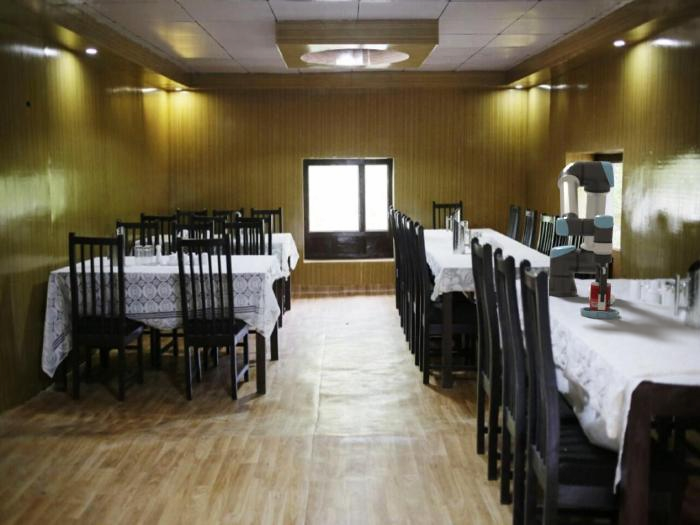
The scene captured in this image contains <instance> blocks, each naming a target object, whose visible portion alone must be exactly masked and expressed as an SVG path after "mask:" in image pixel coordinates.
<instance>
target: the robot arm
mask: <svg viewBox="0 0 700 525" xmlns="http://www.w3.org/2000/svg"><path fill="white" fill-rule="evenodd" d="M613 166H614V165H613V164H612V162H610V161H602V160H599V161H593V160H592V161H584V160H583V161H582V160H579V161H573V162H572V163H571V162H570V163H569V164H568V165H566V166H565V167H564V168H563V169H562V170H561V171H560V172H559V175H558V178H557V187H558V189H559V193H560V194H559V198H560V199H559V200H560V202H559V203H560V204H559V205H560V217H557V218H556V220H555V233H556V235H558V236H564V237H583V238H584V239H583V242H582V243H581V244H580V248H577V247H576V245H561V246H554V247H552V248H551V249H550V253H549V274H548V275H549V276H548V280H549V294H550V295H549V296H553V297H574V296H575V295H576V296H578V288H577V283H576V281H575V280H576V279H575V274H592V275H595V280H594V282H599V292H598V293H597V294H599V295H598V310H605V299H606V293H607V283H608V264H611V263H612V260H613V259H612V258H613V255H612V253H613V237H614V236H613V235H614V225H615V223H614V216H612V215H609V214H608V215H607V214H606V209H607V207H606V205H607V195H608V194H609V193H610V192H611V189H612V188H614V187H615V176H614V175H615V172H614V167H613ZM579 188H583V191H584V193H586V206H585V207H586V208H585V218H583V217H582V218H580V217H579V215H580V214H579V194H578V192H579V191H578V189H579Z"/></svg>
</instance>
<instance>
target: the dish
mask: <svg viewBox="0 0 700 525" xmlns="http://www.w3.org/2000/svg"><path fill="white" fill-rule="evenodd" d="M579 309H580V315H581V316H582V317H585V318H590V317H591V319H598V318H602V319H601V320H610V319H612V318H613V319H617V317H618V318H619V316H620V310H619V309H616V308H612V307H610V309H609V311H595V310H591V309H590V306H584V307H581V308H579Z"/></svg>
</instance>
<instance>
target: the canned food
mask: <svg viewBox="0 0 700 525" xmlns="http://www.w3.org/2000/svg"><path fill="white" fill-rule="evenodd" d="M590 286H591V290H590V300H589V307H590V309H591V310H595V311H609V309H610V308H611V304H610V298H611V294H612V292H611V291H612V283H610V282H607V293H606V299H605V310H598V295H599V294H597V293H598V292H599V282H595V281H593V282H590Z"/></svg>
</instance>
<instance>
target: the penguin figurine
mask: <svg viewBox="0 0 700 525" xmlns="http://www.w3.org/2000/svg"><path fill="white" fill-rule="evenodd" d="M590 290H591V285H590V286H589V287H588V290H587V293H588V299H589V301H590ZM614 302H616V297H615V295H614V294H613V293H611V298H610V305H611V304H612V305H613V303H614Z"/></svg>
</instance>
